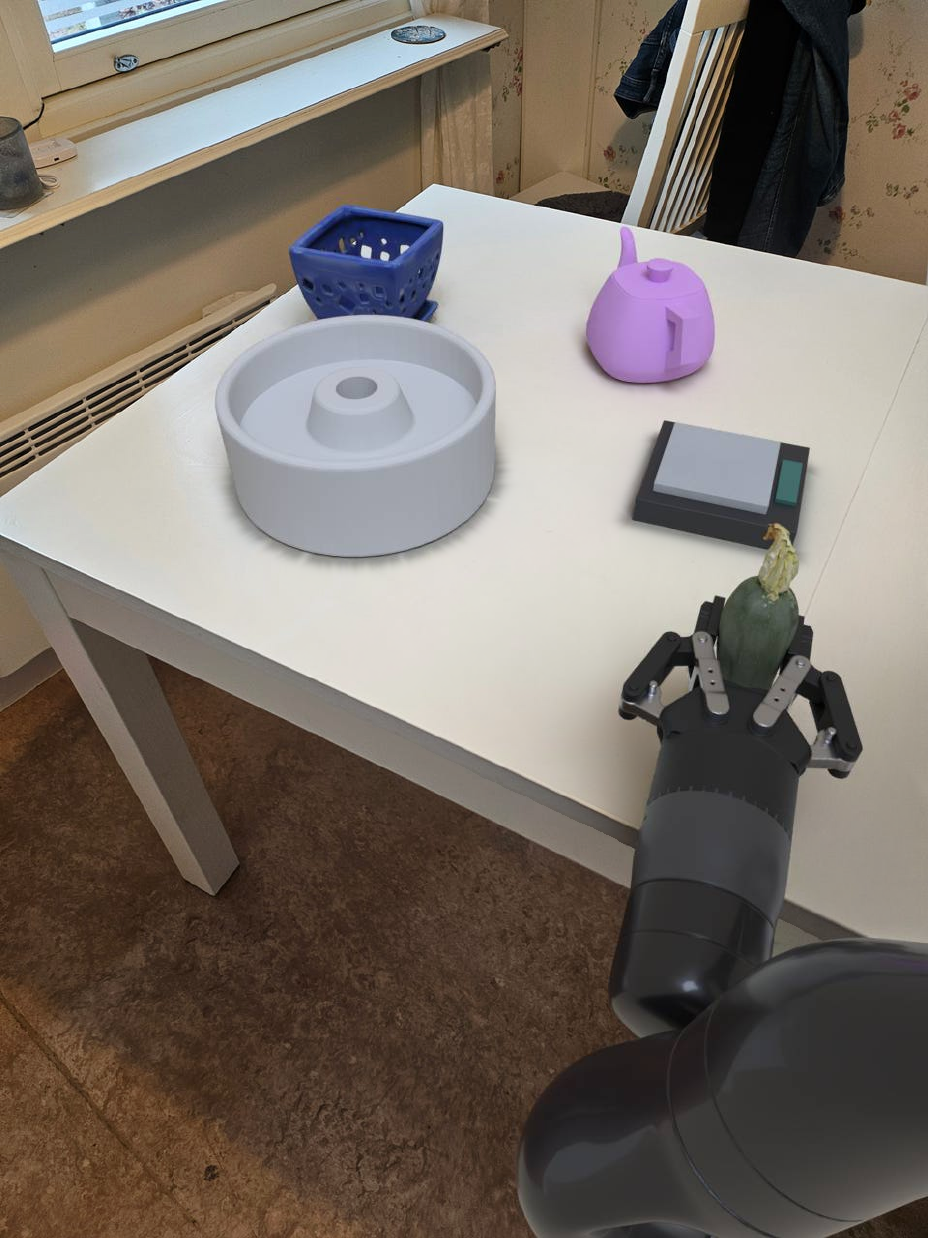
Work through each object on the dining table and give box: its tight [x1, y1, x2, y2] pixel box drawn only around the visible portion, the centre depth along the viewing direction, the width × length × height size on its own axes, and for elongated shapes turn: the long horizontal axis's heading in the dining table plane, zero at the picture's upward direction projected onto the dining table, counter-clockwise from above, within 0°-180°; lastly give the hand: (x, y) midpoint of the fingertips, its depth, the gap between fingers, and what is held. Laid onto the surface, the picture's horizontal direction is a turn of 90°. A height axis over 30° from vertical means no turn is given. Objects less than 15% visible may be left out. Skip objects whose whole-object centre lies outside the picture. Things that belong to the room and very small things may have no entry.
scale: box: [632, 419, 811, 550], centre depth 81 cm, size 14×13×4 cm
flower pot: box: [288, 204, 444, 322], centre depth 99 cm, size 13×13×12 cm
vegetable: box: [715, 523, 800, 691], centre depth 55 cm, size 4×4×20 cm
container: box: [214, 315, 497, 558], centre depth 81 cm, size 25×25×10 cm
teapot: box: [585, 225, 716, 384], centre depth 95 cm, size 13×20×11 cm
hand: (755, 615), depth 56 cm, fingers closed on vegetable, 4 cm apart
